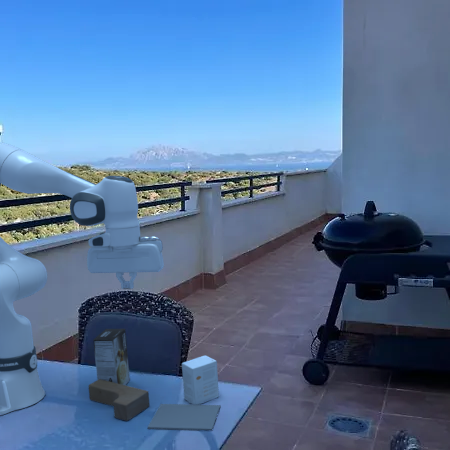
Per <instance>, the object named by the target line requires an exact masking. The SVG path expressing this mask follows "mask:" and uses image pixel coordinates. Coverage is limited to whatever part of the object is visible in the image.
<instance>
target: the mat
mask: <svg viewBox="0 0 450 450" xmlns="http://www.w3.org/2000/svg"><path fill="white" fill-rule="evenodd" d="M220 409H221V404H199V405H193V404H190V403H189V404H184V403H183V404H181V403H180V404H178V403H177V404H176V403H160V404H159V407H158V408H157V410H156V411H155V413H154V415H153V417H152V418H151V420H150V422H149V424H148V425H147V430H166V431H167V430H168V431H170V430H172V431H175V430H176V431H199V430H212V429H214V427H215V424H216V421H217V418H216V417H218V415H217V414H219V412H220ZM215 420H216V421H215ZM214 423H215V424H214ZM213 426H214V427H213ZM212 431H213V430H212Z"/></svg>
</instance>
